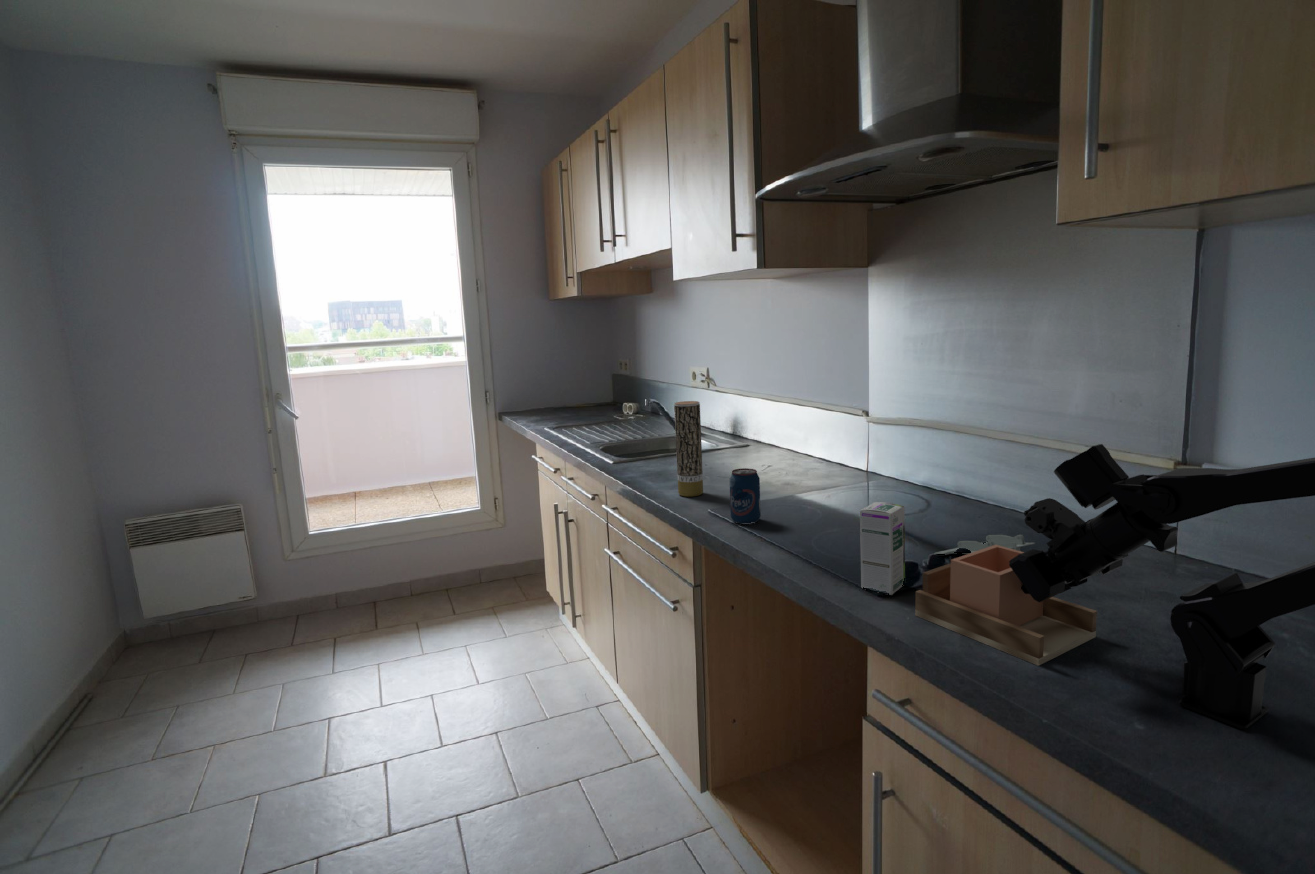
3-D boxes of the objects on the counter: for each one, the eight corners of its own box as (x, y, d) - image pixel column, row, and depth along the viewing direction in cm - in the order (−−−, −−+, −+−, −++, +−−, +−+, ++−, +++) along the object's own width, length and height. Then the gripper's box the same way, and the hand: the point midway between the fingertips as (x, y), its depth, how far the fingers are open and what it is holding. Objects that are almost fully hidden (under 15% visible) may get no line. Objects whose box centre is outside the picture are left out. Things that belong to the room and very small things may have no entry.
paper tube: (679, 491, 196) (675, 401, 192) (703, 490, 195) (700, 400, 191) (677, 497, 189) (673, 404, 185) (702, 497, 189) (699, 404, 184)
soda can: (729, 525, 163) (727, 474, 161) (732, 516, 170) (731, 467, 168) (759, 525, 162) (758, 474, 159) (761, 517, 168) (760, 467, 166)
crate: (1042, 615, 107) (1045, 558, 105) (997, 635, 101) (1000, 575, 100) (994, 598, 114) (995, 544, 112) (949, 616, 108) (950, 559, 107)
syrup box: (892, 596, 120) (893, 513, 117) (859, 588, 123) (859, 508, 121) (905, 585, 124) (906, 504, 121) (873, 578, 128) (873, 500, 125)
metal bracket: (1045, 531, 132) (983, 544, 126) (1051, 562, 131) (990, 577, 126) (985, 532, 145) (927, 544, 140) (991, 560, 144) (933, 574, 139)
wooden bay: (1095, 637, 102) (1098, 591, 101) (1038, 665, 95) (1040, 616, 94) (971, 593, 119) (972, 554, 118) (915, 615, 112) (915, 573, 111)
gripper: (1105, 474, 100) (1026, 530, 111) (1026, 497, 91) (949, 556, 102) (1163, 541, 95) (1074, 593, 106) (1086, 573, 85) (997, 626, 97)
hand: (1024, 590), depth 103 cm, fingers closed, pressing on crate
